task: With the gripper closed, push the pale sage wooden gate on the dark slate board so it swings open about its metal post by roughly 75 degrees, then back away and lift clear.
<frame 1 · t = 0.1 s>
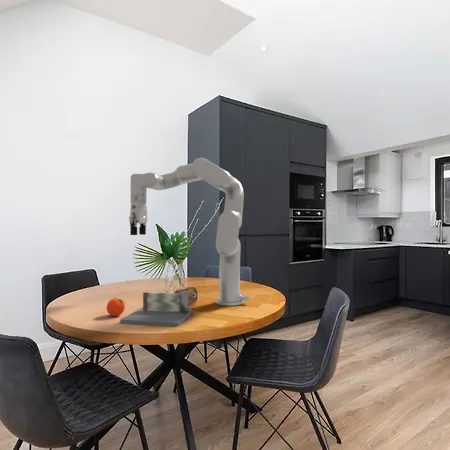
hand: (138, 234, 161), 31 cm above the table, tool pointing down, fingers open, 9 cm apart
gate: (161, 301, 133), point 5 cm above the table, hinge at 0.0°
tin: (185, 307, 146), on the table
clementine: (117, 316, 131), on the table
post: (184, 315, 131), resting on board
board: (158, 317, 128), on the table
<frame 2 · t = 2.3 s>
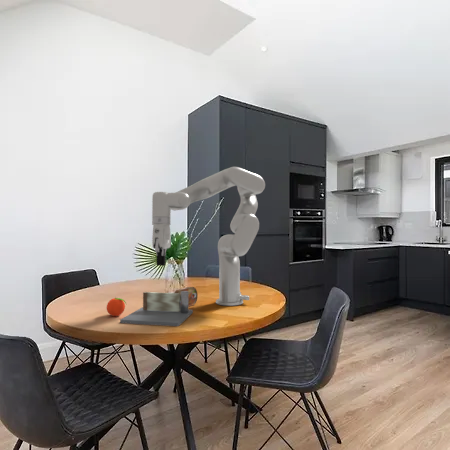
hand: (161, 265, 139), 19 cm above the table, tool pointing down, fingers closed
nothing on the table moved.
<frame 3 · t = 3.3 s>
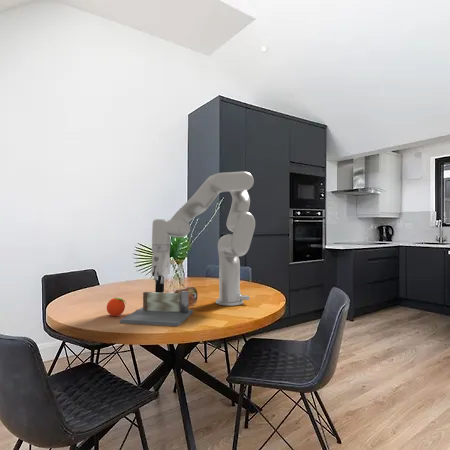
hand: (159, 292, 139), 8 cm above the table, tool pointing down, fingers closed
nothing on the table moved.
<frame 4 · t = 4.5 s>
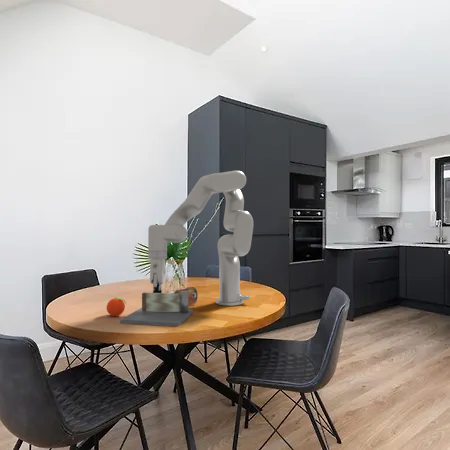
hand: (157, 300, 135), 5 cm above the table, tool pointing down, fingers closed
gate: (161, 302, 132), point 5 cm above the table, hinge at 4.7°, touching gripper
everything else where it was.
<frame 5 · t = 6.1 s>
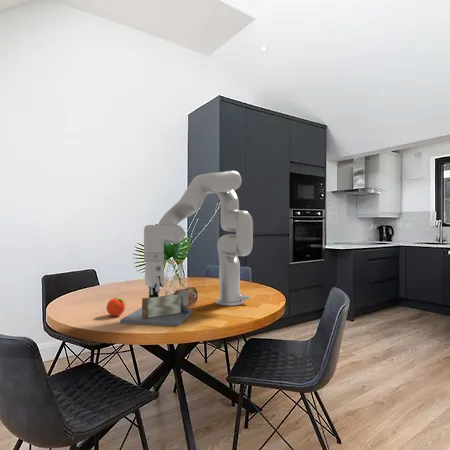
hand: (153, 304, 127), 5 cm above the table, tool pointing down, fingers closed
gate: (162, 305, 126), point 5 cm above the table, hinge at 43.9°, touching gripper
everything else where it was.
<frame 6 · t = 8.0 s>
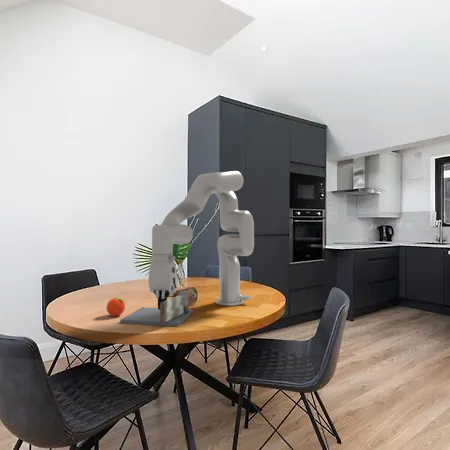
hand: (162, 308, 121), 5 cm above the table, tool pointing down, fingers closed
gate: (172, 308, 122), point 5 cm above the table, hinge at 79.7°, touching gripper
everything else where it was.
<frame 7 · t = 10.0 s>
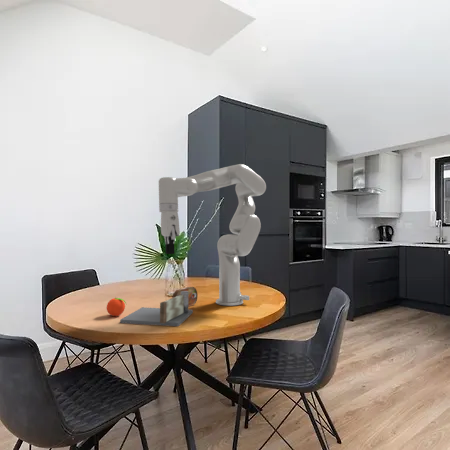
hand: (170, 253, 134), 24 cm above the table, tool pointing down, fingers closed
gate: (172, 308, 122), point 5 cm above the table, hinge at 79.7°
everything else where it was.
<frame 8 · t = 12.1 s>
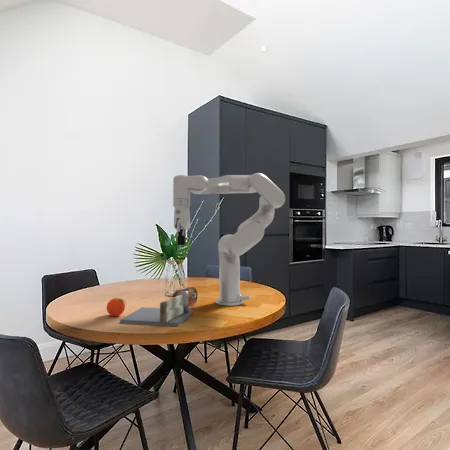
hand: (181, 244, 147), 27 cm above the table, tool pointing down, fingers closed
nothing on the table moved.
at the end: gate at +80° (first picture: +0°); clementine moved 0.2 cm from its start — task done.
